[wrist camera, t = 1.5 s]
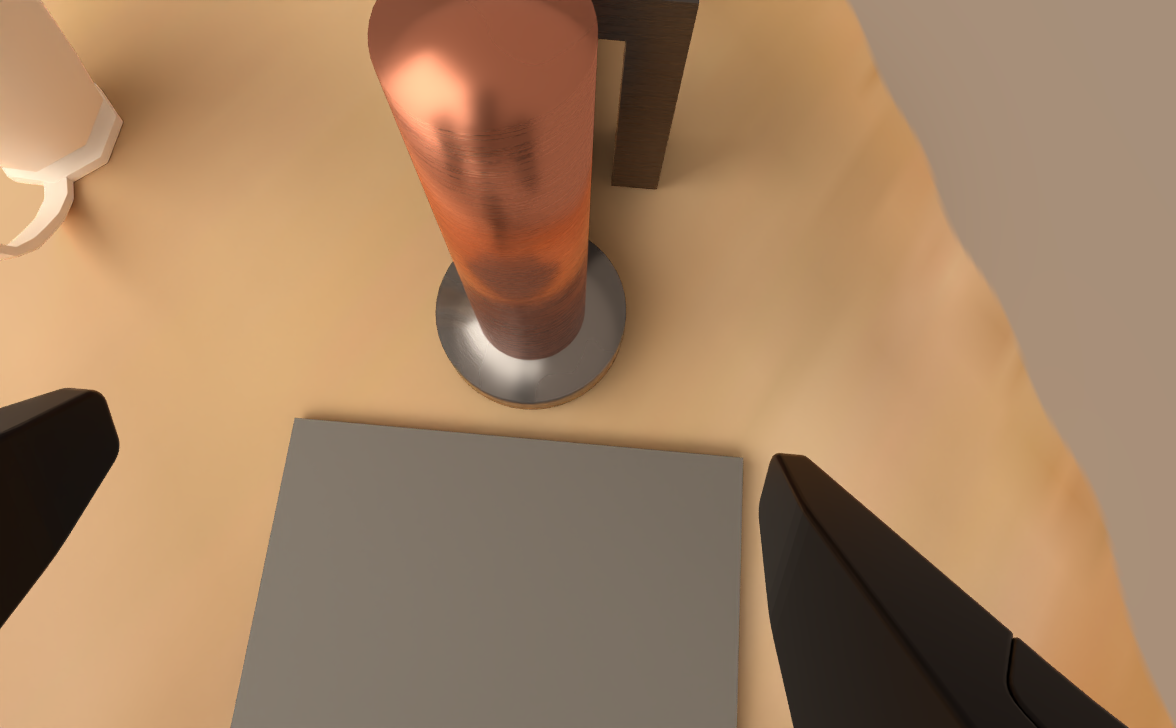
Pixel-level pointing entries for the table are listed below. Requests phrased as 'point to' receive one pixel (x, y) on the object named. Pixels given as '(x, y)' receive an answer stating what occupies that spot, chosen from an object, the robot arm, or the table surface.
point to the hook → (507, 186)
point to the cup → (47, 117)
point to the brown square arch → (646, 80)
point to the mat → (495, 585)
